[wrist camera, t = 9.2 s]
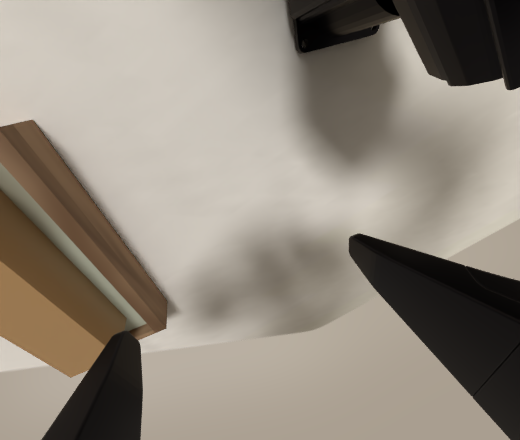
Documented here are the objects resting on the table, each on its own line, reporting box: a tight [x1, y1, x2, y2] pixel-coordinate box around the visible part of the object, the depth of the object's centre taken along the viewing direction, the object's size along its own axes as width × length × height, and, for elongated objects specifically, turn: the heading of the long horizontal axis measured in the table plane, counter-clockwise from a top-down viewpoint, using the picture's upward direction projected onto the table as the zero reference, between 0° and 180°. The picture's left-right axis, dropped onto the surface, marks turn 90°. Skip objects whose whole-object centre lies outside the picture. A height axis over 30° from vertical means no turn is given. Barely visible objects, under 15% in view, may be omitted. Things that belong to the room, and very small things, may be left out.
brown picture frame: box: [0, 120, 167, 340], centre depth 16 cm, size 9×18×3 cm, turn 14°
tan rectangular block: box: [0, 189, 127, 377], centre depth 14 cm, size 4×14×4 cm, turn 14°
